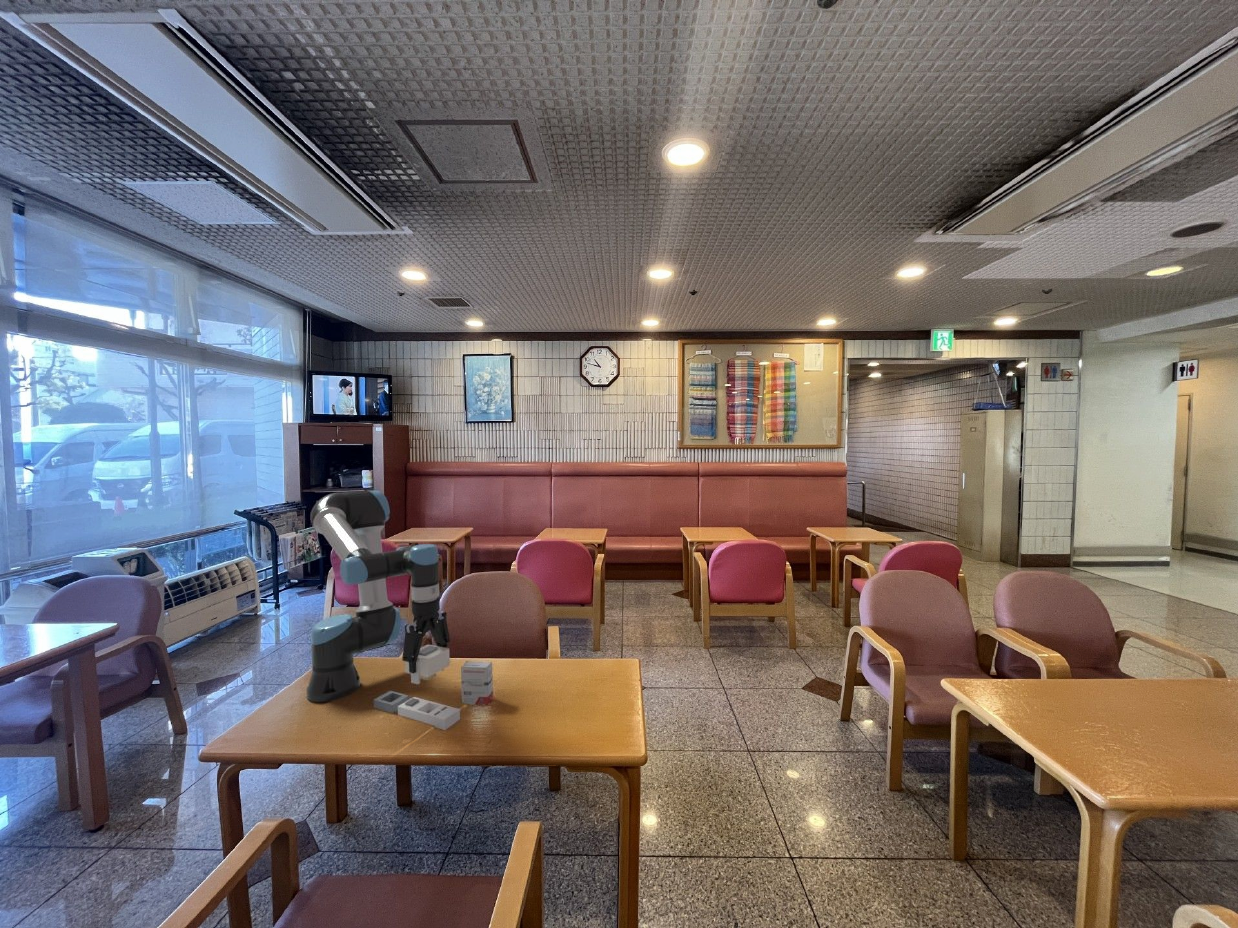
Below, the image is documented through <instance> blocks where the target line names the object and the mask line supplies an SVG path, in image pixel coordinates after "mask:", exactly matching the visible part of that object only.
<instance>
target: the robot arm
mask: <svg viewBox="0 0 1238 928" xmlns="http://www.w3.org/2000/svg"><path fill="white" fill-rule="evenodd" d="M390 514H391V510H390V504H389V501H388V500H387V497H386V496H385V494H383V493H382V492H381V491H379V490H367V489H366V490H357V491H345V492H333V493H329V494H327V495H324V496H322V497H321V498H320V499H319V500H317V502H316V503H315V504H314V506H313V507H312V509H311V511H310V523H311V525H312V527H313V529H314V530H315V532H317V533H319V534H321V535H323V536H324V538H325V539H326V541H327V542H328V544H329V545H330V546H331V548H332V549H333V551H334V553H335V554H336V555H337V556H338V558H339V559H340V561H341V562H340V565H339V573H340V574H339V575H340V577H341V580H342V582H343V583H344V584H345V585H349V586H350V585H352V586H353V585H356V584H357V586H358V595H359V606H358V607H357V609H356V610H355V616H354V617H352V616H353V615H350V614H346V613H345V614H344V613H343V614H338V615H336V614H335V615H333V616H329V617H326V618H324V619H322V620H320V621H318V622H317V623H316V624H315V625H314V626H313V627H312V628H311V635H310V636H311V637H310V644H311V668H312V669H311V670H312V671H311V676H310V678H309V681H308V686H307V688H306V698H307V700H308V701H310V702H311V703H327V702H332V701H334V700H339V699H341V698H344V697H347V696H349V695H351V694H353V693H354V692H356V691H357V690H359V688H360V687H361V678H360V675H359V672H358V670H357V668H356V666H355V662H354V655H356V654H359V653H362V652H365V651H369V650H371V649H376V648H379V647H384V646H386V645H389V644H393V643H395V641H397V639H398V638H399V636H400V634H401V631H402V616H401V611H400V610H399V609H398V608H397V607H394V604H393V602H391V601H390V600H389V599H388V592H387V581H386V579H388V578H394V577H399V576H404V575H409V576H410V582H411V583H410V586H411V589H410V590H411V591H410V594H411V600H412V601H411V614H412V615H413V621H412V622H411V623H410V624H405V625H404V634H405V635H404V640H403V651H402V652H403V653H402V658H401V659H402V662H405V661H406V662H409V672H410V673H411V674H410V673H409V674H410V682H411V684H414V685H415V684H416V685H420V684H421V679H420V660H417V658H418V655H419V651H420V648H421V647H422V644H423V640H424V638H425V637H426V634H427V633H428V632H429V631H430V634H431V635H432V638H433V640H434V643H435V644H436V646H439V647H444V648H448V646H449V643H450V642H451V638H450V632H449V627H448V621H447V616H448V615H447V611H443V610H442V611H441V605H440V598H439V597H440V581H439V580H440V567H439V566H440V565H439V563H440V562H439V561H440V560H439V559H440V558H439V557H440V555H439V549H438V546H437V545H435V544H432V543H431V544H429V543H428V544H427V543H426V544H425V543H423V544H422V543H421V544H416V545H414V546H412V547H410V546H401V547H398V548H396V549H395V550H391V551H384V552H383V544H382V543H383V542H382V534H381V532H382V531H383V529H384V527H386V526H385V523H386V522H387V521H388V520H389V519H390ZM440 671H442V672H443V671H445V668H444V669H442V670H440Z"/></svg>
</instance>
